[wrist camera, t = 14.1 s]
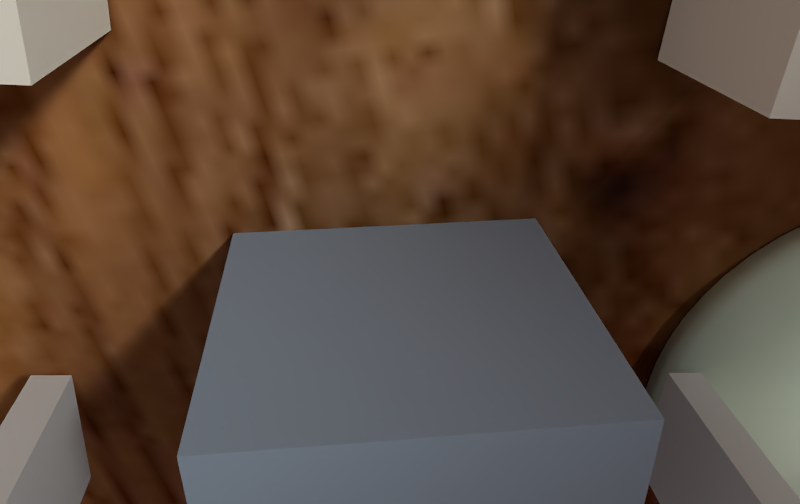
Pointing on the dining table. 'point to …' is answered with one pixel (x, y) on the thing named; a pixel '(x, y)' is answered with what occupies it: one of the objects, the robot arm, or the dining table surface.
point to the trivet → (749, 350)
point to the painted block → (412, 375)
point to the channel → (681, 49)
